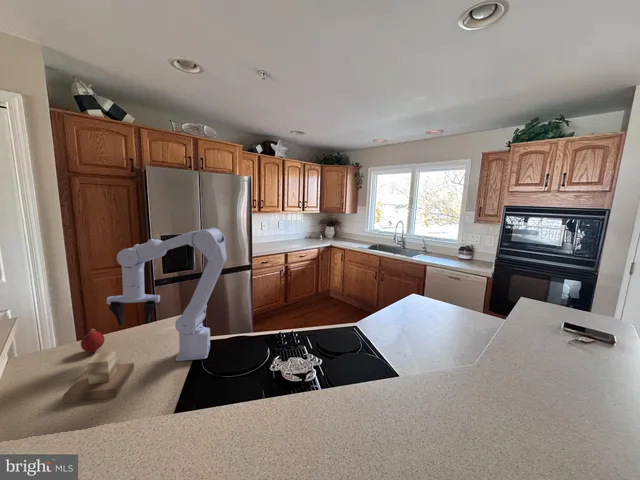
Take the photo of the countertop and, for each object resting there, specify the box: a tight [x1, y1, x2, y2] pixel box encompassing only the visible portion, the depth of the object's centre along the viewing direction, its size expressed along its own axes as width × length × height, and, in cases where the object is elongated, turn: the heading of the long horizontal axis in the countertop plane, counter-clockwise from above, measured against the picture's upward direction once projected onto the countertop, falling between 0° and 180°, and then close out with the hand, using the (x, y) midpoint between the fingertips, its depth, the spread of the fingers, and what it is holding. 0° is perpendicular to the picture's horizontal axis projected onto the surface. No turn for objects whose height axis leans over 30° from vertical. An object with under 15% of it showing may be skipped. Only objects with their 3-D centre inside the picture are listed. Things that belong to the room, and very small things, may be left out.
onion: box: [80, 328, 106, 353], centre depth 84 cm, size 6×6×8 cm
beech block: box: [86, 351, 117, 384], centre depth 70 cm, size 4×4×6 cm
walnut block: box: [63, 362, 135, 404], centre depth 70 cm, size 11×11×3 cm
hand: (134, 323), depth 85 cm, fingers open, 7 cm apart
